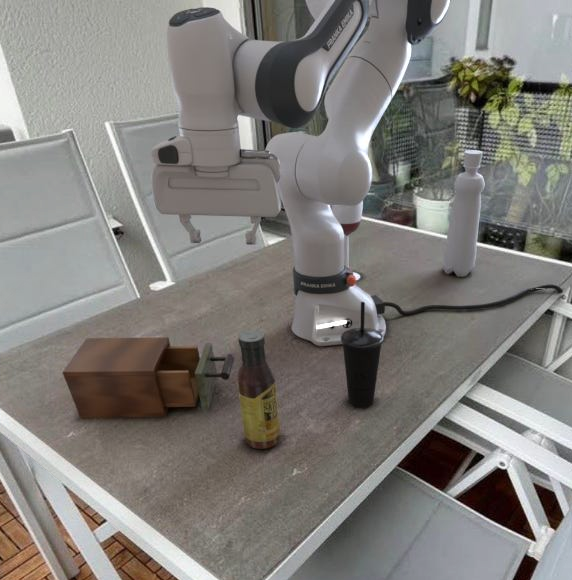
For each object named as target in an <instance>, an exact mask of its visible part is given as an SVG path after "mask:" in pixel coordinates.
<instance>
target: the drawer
mask: <svg viewBox="0 0 572 580" xmlns="http://www.w3.org/2000/svg"><path fill="white" fill-rule="evenodd" d="M234 361H235V356H234V355H233V354H231V353H227V354H226V356H215V355H214V350H213V344H212V342H205V344H204V347H203V349H202V352H201V355H200V351H199V347H198V345H187V346H186V345H185V346H181V345H180V346H179V345H178V346H177V345H176V346H171V345H170V346H168V347H167V348H166V350H165V352H164V354H163V357H162V359H161V361H160V363H159V365H158V368H157V370H156V372H155V374H156V378H157V382H158V385H159V389H160V393H161V397H162V400H163V404H164V407H169V408H185V407H186V408H189V407H191V408H193V407H194V408H195V407H196V405H197V402H198V400H199V401H200V406H201V410H202V411H210V407H211V405H212V399H213V396H214V394H215V389H216V387H217V383H218V378H221V379H222V380H223V381H227V380H229V379H230V377H231V373H232V368H233V366H234ZM216 362H223V364H222V365H223V366H222V369H221V372H217V371H218V370H217V366H216Z"/></svg>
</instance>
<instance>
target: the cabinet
mask: <svg viewBox="0 0 572 580" xmlns="http://www.w3.org/2000/svg"><path fill="white" fill-rule="evenodd" d="M168 346H171V341H170V338H169V337H168V336H167V337H85V339H84V340H83V342H82V344H81V345H79V347H78V349H77V350H76V351H75V353H74V355H73V356H72V358H71V359H70V360H69V362H68V363H67V365H66V366H65V368H63V370H62V375H63V378H64V381H65V383H66V385H67V388H68V390H69V392H70V396H71V398H72V400H73V402H74V405H75V408H76V410H77V414H78V415H79V418H80V419H115V418H116V419H117V418H118V419H119V418H120V419H121V418H124V419H125V418H166V417H167V414H168V411H169V409H170V407H164V404H163V400H162V397H161V393H160V389H159V385H158V382H157V378H156V374H155V372H156V370H157V368H158V365H159V363H160V361H161V359H162V357H163V354H164V352H165V350H166V348H167V347H168Z"/></svg>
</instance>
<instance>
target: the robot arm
mask: <svg viewBox="0 0 572 580" xmlns="http://www.w3.org/2000/svg"><path fill="white" fill-rule="evenodd" d="M451 2H452V0H305V3H306V6H307V9H308V11H309V13H310V14H311V16H312V18H313V20H314V22H313V23H312V25H311V26H310V27H309V29H308V30H307V32H306V33H305V35H303V36H302V37H300V38H297V39H293V40H286V41H285V40H284V41H273V40H260V39H259V40H258V39H252V38H251V39H250V37H249V36H247V35H245V34H243V33H241V32H240V31H238V30H237V29H236V28H235V27H233V26H232V25H231V24H230V23H229V22H228V20H226V19H225V17H224V15H223V13H222V11H221V10H219V9H218V8H216V7H207V6H206V7H205V6H204V7H198V8H197V7H196V8H189V9H184V10H181V11H178V12H176V13H175V14H173V16H171V18H170V19H169V20H168V23H167V27H166V28H167V29H166V49H167V60H168V68H169V76H170V81H171V88H172V93H173V95H174V97H175V100H176V103H177V109H178V117H177V124H178V125H177V126H178V132H179V135H178V136H177V135H175V136H172V137H170V138H168V139H166V140H163V141H162V142H161V141H160V142H159V143H158V144H156V145H155V146H154V147H152V149H151V150H150V155H151V160H152V162H153V163H154V164H155V166H153V168H152V170H151V179H150V180H151V191H152V192H151V193H152V198H153V199H152V200H153V204H154V208H155V209H156V210H157V211H158V212H159V214H160V215H176V216H177V215H178V217H179V223H180V224H181V225H182V226H183V228H184V229H185V230H186V232H187V234H188V236H189V241H190V243H191V244H201V242H202V236H201V235H202V234H201V229H196V228H195V227H194V225H193V224H192V222H191V221H190V220H191V219H192V216H213V217H245V218H246V217H247V218H248V217H249V218H250V223H251V225H252V224H253V226H252V228H251V230H247V231H246V232H245V234H244V235H245V239H246V240H245V244H246V245H251V246H256V244H257V230H258V228H259V226H260V224H261V222H262V218H276V217H277V216H278V215H279V213H280V212H281V211H282V205H283V209H284V211H285V214H286V216H287V220H288V225H289V228H290V233H291V241H292V242H291V243H292V252H293V264H294V266H293V267H292V287H293V292H294V297H295V299H294V312H293V319H292V323H291V327H290V328H291V331H292V333H293V334H294V335H295V336H296V337H298V338H300V339H302V340H303V339H304V340H306V341H308V342H309V341H310V342H311V343H312V344H314V345H315V346H318V347H326V346H327V347H328V346H336V345H337V346H338V345H343V343H342V341H341V335H342V334H343V333H344V332H345V331H347V330H350V329H353V328H360V327H361V302H365V319H364V328H370V329H374V330H377V331H379V332H380V333H381V334H382V335H383V338H384V337H385V336H386V333H387V325H386V324H387V323H386V321H385V318H384V316H383V315H382V314H385V312H386V311H385V310H386V307H389V308H394V309H395V310H396V311H397V312H398V313H399V315H402V316H411V315H416V314H419V313H422V312H424V311H429V310H449V311H453V310H454V311H464V310H467V311H468V310H479V309H480V310H481V309H488V308H493V307H497V306H500V305H505V304H506V303H509V302H512V301H514V300H517V299H519V298H521V297H522V296H524V295H526V294H529V293H533V292H537V291H543V289H536V288H545V289H544V290H547V289H548V290H549V289H553V290H555V291H557V292H558V293H563V289H562V288H561V287H560V286H559V285H556V284H551V283H550V284H542V285H538V286H534V287H529V288H526V289H524V290H521V291H520V292H518V293H517V294H514V295H511V296H509V297H506V298H503V299H501V300H497V301H493V302H488V303H481V304H480V303H479V304H468V305H466V304H465V305H451V304H450V305H449V304H448V305H447V304H429V305H424V306H421V307H418V308H416V309H413V310H403V309H402V307H401V306H400V305H398V304H397V303H394V302H390V301H384V300H383V299H381V298H380V297H379V296H378V295H376V294H374V295H370V294H369V293H368V292H366V291H365V290H364V289H362V288H361V287H359V285H356V283H357V280H356V278H355V276H354V275H353V272H354V271H353V270H352V267H351V266H350V265H349V268H348V267H346V264H345V234H344V232H343V229H342V226H341V225H340V223H339V222H338V220H337V219H336V218H335V216H334V214H333V212H332V206H355V205H358V204H359V203H361V202H362V201H363V202H364V199H365V198H366V197H367V195H368V194H369V192H370V189H371V186H372V182H373V168H372V167H373V166H372V163H371V160H370V157H369V146H370V142H371V138H372V136H373V135H374V131H375V130H376V128H377V126H378V124H379V123H380V121H381V118H382V117H383V116H384V114H385V112H386V111H387V109H388V106H389V105H390V103H391V102H392V100H393V98H394V96H395V94H396V93H397V91H398V89H399V87H400V84H401V83H402V80H403V78H404V76H405V74H406V71H407V68H408V66H409V63H410V60H411V55H412V46H416V45H420V44H421V43H422V42H424V41H425V40H426V38H427V36H430V35H431V34H433V32H435V30H436V29H437V28H438V27H439V26H440V25H441V24H442V23H443V21H444V19H445V17H446V16H447V13H448V10H449V9H450V5H451ZM368 18H370V20H369V23H368V27H367V30H366V31H365V32H364V33H363V35H362V36H361V34H362V32H363V30H364V29H365V26H366V24H367V21H368ZM360 36H361V37H360ZM359 38H360V39H359ZM358 39H359V40H358ZM340 67H341V68H340ZM339 68H340V69H339ZM335 74H336V76H335ZM334 76H335V78H334V79H333V77H334ZM332 79H333V81H332ZM331 81H332V82H331ZM330 82H331V85H330V86H329V84H330ZM328 87H329V88H328ZM326 90H327V91H326ZM323 98H324V104H323V105H324V110H325V114H326V117H327V119H328V121H327V124H326V126H325V129H324V130H323V132H322V133H320V134H319V135H312V134H308V133H303V132H300V131H299V132H298V131H291V132H284V133H278V134H276V135H274V136H273V137H272V138H271V139H270V140H269V141H268V143H267V144H266V147H265V149H261V150H255V149H244V148H243V149H242V148H241V137H240V128H239V127H240V126H239V121H238V116H241V117H245V118H250V119H251V118H252V119H254V120H261V121H266V122H272V123H274V124H277V125H280V126H284V127H286V128H289V129H299V128H302V127H304V126H306V125H307V124H308V123H310V122H311V121H312V119H313V118H314V116H315V115H316V114H317V112H318V110H319V108H320V106H321V103H322V101H323ZM531 289H532V290H531Z"/></svg>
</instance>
